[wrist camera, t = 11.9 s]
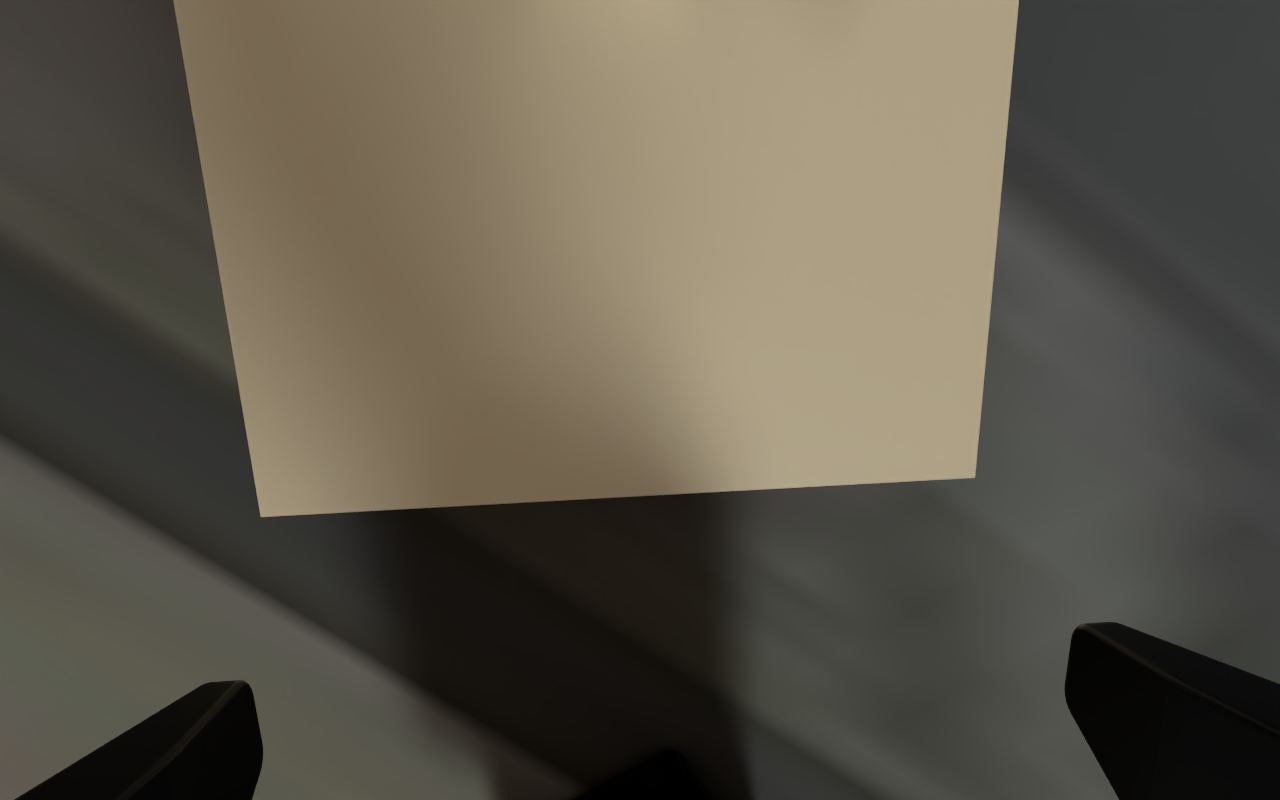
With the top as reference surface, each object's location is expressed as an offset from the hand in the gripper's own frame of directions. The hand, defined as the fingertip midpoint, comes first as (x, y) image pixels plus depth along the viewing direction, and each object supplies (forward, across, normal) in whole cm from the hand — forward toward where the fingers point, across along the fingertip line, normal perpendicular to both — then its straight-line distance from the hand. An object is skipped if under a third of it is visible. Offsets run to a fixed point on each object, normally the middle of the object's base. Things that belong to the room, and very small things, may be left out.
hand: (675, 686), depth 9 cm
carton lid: (+8, 0, -5) cm, 10 cm away
